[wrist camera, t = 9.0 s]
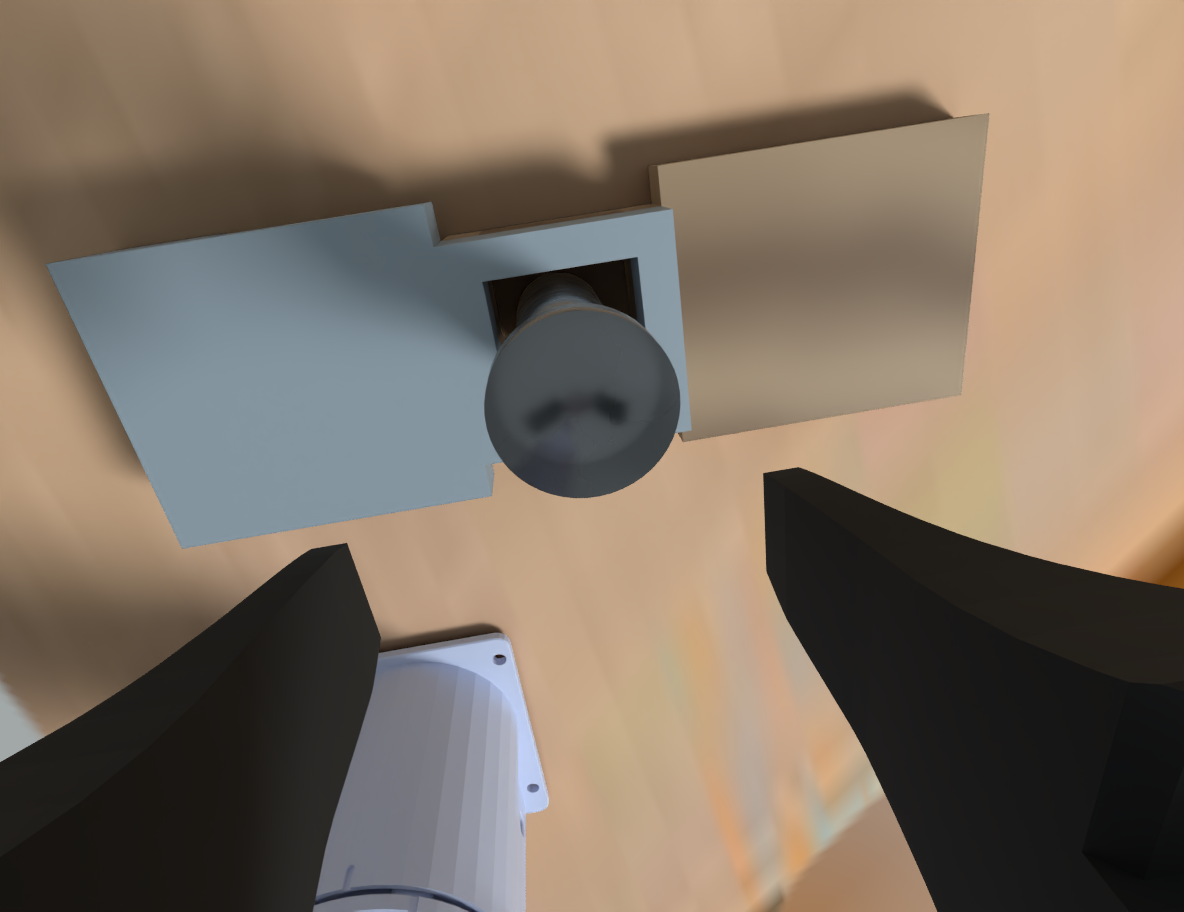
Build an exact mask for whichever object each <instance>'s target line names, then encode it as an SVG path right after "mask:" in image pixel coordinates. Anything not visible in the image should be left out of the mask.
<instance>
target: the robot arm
mask: <svg viewBox="0 0 1184 912" xmlns="http://www.w3.org/2000/svg"><path fill="white" fill-rule="evenodd" d="M763 479H764V510H765V540H766V571H767V574H768V576H769V579H770V581H771V584H772V586H773V588H774V591H775V593H776V596H777V598H778V600H779V603H780V605H781V607H782V609H783V612H784V614H785V616H786V619H787V620H788V622H789V624H790V626H791V627H792V629H793V631H794V632H795V634H796V636H797V637H798V639H799V641H800V643H801V644H802V646H803V648H804V649H805V651H806V653H807V654H808V656H809V658H810V659H811V661H812V663H813V664H814V666H815V668H816V669H817V671H818V672H819V674H820V676H821V677H822V679H823V681H824V682H825V684H826V686H827V687H828V689H829V691H830V692H831V694H832V696H833V697H834V699H835V701H836V702H837V704H838V706H839V707H840V709H841V710H842V712H843V714H844V715H845V717H846V719H847V720H848V722H849V724H850V725H851V727H852V729H853V731H854V733H855V734H856V736H857V738H858V740H859V742H860V743H861V745H862V747H863V749H864V751H865V753H866V755H867V757H868V759H869V761H870V763H871V765H872V767H873V769H874V772H875V774H876V776H877V778H878V780H879V782H880V784H881V786H882V789H883V791H884V793H885V795H886V797H887V799H888V801H889V803H890V805H891V808H892V810H893V812H894V814H895V816H896V818H897V821H898V823H899V825H900V827H901V829H902V832H903V834H904V836H905V838H906V841H907V843H908V845H909V847H910V850H911V852H912V854H913V856H914V858H915V861H916V863H917V865H918V867H919V870H920V872H921V874H922V876H923V879H924V881H925V883H926V886H927V888H928V890H929V893H930V895H931V897H932V900H933V902H934V905H935V907H936V909H937V912H1184V589H1182V588H1175V587H1169V586H1163V585H1157V584H1152V583H1147V582H1141V581H1136V580H1131V579H1126V578H1120V577H1115V576H1111V575H1106V574H1102V573H1098V572H1093V571H1089V570H1084V569H1080V568H1076V567H1071V566H1067V565H1062V564H1058V563H1054V562H1050V561H1047V560H1043V559H1039V558H1035V557H1031V556H1028V555H1024V554H1021V553H1018V552H1014V551H1011V550H1008V549H1004V548H1001V547H998V546H994V545H991V544H988V543H984V542H981V541H978V540H975V539H972V538H969V537H966V536H963V535H960V534H957V533H955V532H952V531H949V530H947V529H944V528H941V527H939V526H936V525H934V524H931V523H928V522H926V521H923V520H920V519H918V518H915V517H913V516H910V515H908V514H906V513H903V512H901V511H898V510H896V509H894V508H891V507H889V506H887V505H884V504H882V503H880V502H878V501H875V500H873V499H871V498H869V497H866V496H864V495H862V494H860V493H857V492H855V491H853V490H851V489H849V488H846V487H844V486H842V485H840V484H838V483H836V482H833V481H831V480H829V479H827V478H824V477H822V476H820V475H817V474H815V473H813V472H810V471H808V470H805V469H802V468H799V467H797V468H791V469H785V470H779V471H773V472H768V473H763ZM380 639H381V636H380V634H379V631H378V628H377V625H376V623H375V620H374V617H373V614H372V611H371V609H370V606H369V603H368V600H367V598H366V595H365V592H364V589H363V586H362V584H361V581H360V578H359V575H358V572H357V570H356V567H355V564H354V561H353V559H352V556H351V553H350V550H349V547H348V545H347V543H344V544H338V545H332V546H326V547H321V548H315V549H311V550H309V551H307V552H306V553H304V554H303V555H301V556H300V557H298V558H297V559H295V560H294V561H293V562H291V563H290V564H289V565H287V566H286V567H285V568H283V569H282V570H281V571H280V572H278V573H277V574H276V575H274V576H273V577H272V578H271V579H269V580H268V581H267V582H266V583H264V584H263V585H262V586H261V587H259V588H258V589H257V590H256V591H254V592H253V593H252V594H251V595H249V596H248V597H247V598H246V599H244V600H243V601H242V602H241V603H239V604H238V605H237V606H236V607H234V608H233V609H232V610H231V611H229V612H228V613H227V614H226V615H224V616H223V617H222V618H221V619H219V620H218V621H217V622H215V623H214V624H213V625H211V626H210V627H209V628H207V629H206V630H205V631H203V632H202V633H201V634H199V635H198V636H197V637H195V638H194V639H193V640H191V641H190V642H189V643H187V644H186V645H185V646H183V647H182V648H181V649H179V650H178V651H177V652H175V653H174V654H172V655H171V656H170V657H168V658H167V659H166V660H164V661H163V662H162V663H160V664H159V665H158V666H156V667H155V668H153V669H152V670H150V671H149V672H148V673H146V674H145V675H143V676H142V677H140V678H139V679H137V680H136V681H134V682H133V683H131V684H130V685H128V686H127V687H126V688H124V689H122V690H121V691H119V692H118V693H116V694H115V695H113V696H112V697H110V698H108V699H107V700H105V701H104V702H102V703H101V704H99V705H97V706H96V707H94V708H93V709H91V710H90V711H88V712H86V713H85V714H83V715H82V716H80V717H78V718H77V719H75V720H73V721H72V722H70V723H68V724H67V725H65V726H63V727H61V728H60V729H58V730H56V731H54V732H53V733H51V734H49V735H47V736H45V737H44V738H42V739H40V740H38V741H37V742H35V743H33V744H31V745H30V746H28V747H26V748H25V749H23V750H21V751H19V752H17V753H16V754H14V755H12V756H10V757H9V758H7V759H5V760H3V761H1V762H0V912H526V814H528V813H533V812H539V811H542V810H544V809H545V808H547V806H548V804H549V796H548V791H547V787H546V783H545V779H544V775H543V771H542V767H541V763H540V759H539V755H538V751H537V747H536V743H535V739H534V735H533V731H532V727H531V723H530V719H529V714H528V710H527V706H526V702H525V698H524V694H523V690H522V686H521V682H520V678H519V674H518V670H517V666H516V662H515V658H514V654H513V650H512V646H511V642H510V639H509V638H508V637H507V636H506V635H505V634H502V633H490V634H485V635H479V636H473V637H467V638H462V639H456V640H450V641H445V642H439V643H433V644H427V645H422V646H416V647H410V648H405V649H399V650H393V651H388V652H382V653H379V647H380ZM497 654H502V655H504V656H505V657H503V658H497V657H495V655H497Z"/></svg>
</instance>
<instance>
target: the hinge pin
mask: <svg viewBox="0 0 1184 912" xmlns="http://www.w3.org/2000/svg"><path fill="white" fill-rule="evenodd" d="M680 405H681V403H680V389H679V384H678V379H677V376H676V373H675V370H674V368H673V366H672V364H671V361H670V359H669V357H668V356H667V354H666V353H665V352H664V350H663V349H662V347H661V346H660V345H659V343H658V342H657V341H656V340H655V339H654V337H653V336H652V335H651V334H650V333H649V332H648V331H647V330H646V328H645V327H643V326H642V325H641V324H640V323H638V322H637V321H636V320H635V319H633V318H631V317H630V316H628V315H627V314H625V313H623V312H620V311H618V310H616V309H614V308H610V307H607V306H603V304H602V303H601V301H600V299H599V298H598V296H597V295H596V293H595V291H594V290H593V289H592V287H591V286H590V285H589V284H588V283H587V282H586V281H584V280H583V279H581V278H580V277H578V276H576V275H573V274H570V273H565V272H553V273H548V274H545V275H542V276H540V277H538V278H537V279H535V280H534V281H533V282H531V283H530V284H529V285H528V286H527V287H526V289H525V290H524V292H523V293H522V295H521V297H520V300H519V303H518V307H517V319H516V329H515V330H514V331H513V332H512V333H511V334H510V335H509V336H508V337H507V338H506V340H505V341H504V342H503V343H502V345H501V346H500V348H499V350H498V352H497V353H496V355H495V357H494V360H493V362H492V365H491V367H490V371H489V375H488V380H487V385H486V391H485V400H484V416H485V422H486V428H487V431H488V434H489V437H490V440H491V442H492V444H493V447H494V449H495V451H496V452H497V454H498V455H499V457H500V458H501V460H502V461H503V462H504V464H505V465H506V466H507V467H508V468H509V469H510V470H511V471H512V472H513V473H514V474H515V475H516V476H518V477H519V478H520V479H522V480H523V481H524V482H526V483H527V484H529V485H531V486H533V487H535V488H537V489H539V490H541V491H544V492H547V493H550V494H553V495H557V496H562V497H570V498H590V497H597V496H602V495H606V494H610V493H613V492H616V491H618V490H621V489H623V488H625V487H627V486H629V485H631V484H633V483H634V482H636V481H637V480H639V479H640V478H642V477H643V476H644V475H645V474H646V473H648V472H649V471H650V470H651V469H652V468H653V467H654V466H655V465H656V464H657V463H658V461H659V460H660V459H661V458H662V456H663V455H664V453H665V452H666V450H667V449H668V447H669V445H670V443H671V441H672V439H673V437H674V434H675V431H676V429H677V425H678V420H679V416H680Z"/></svg>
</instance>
